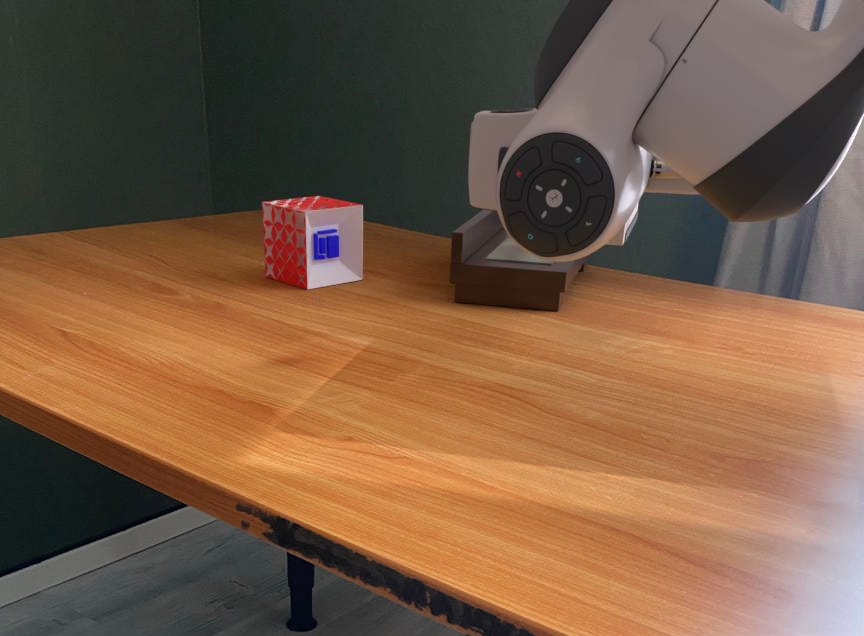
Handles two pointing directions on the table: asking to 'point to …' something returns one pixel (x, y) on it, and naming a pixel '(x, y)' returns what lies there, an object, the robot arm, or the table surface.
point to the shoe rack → (505, 268)
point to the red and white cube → (313, 241)
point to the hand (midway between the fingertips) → (608, 146)
